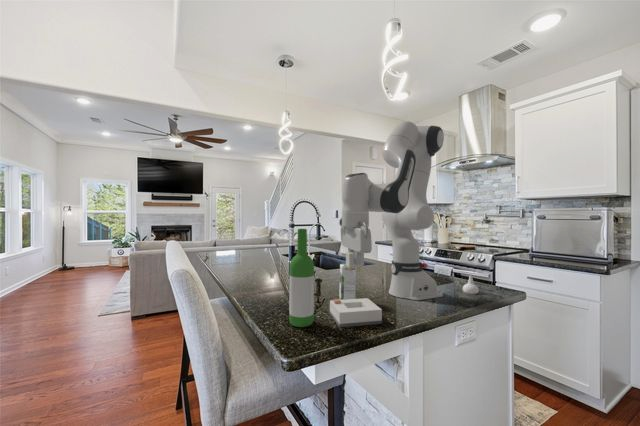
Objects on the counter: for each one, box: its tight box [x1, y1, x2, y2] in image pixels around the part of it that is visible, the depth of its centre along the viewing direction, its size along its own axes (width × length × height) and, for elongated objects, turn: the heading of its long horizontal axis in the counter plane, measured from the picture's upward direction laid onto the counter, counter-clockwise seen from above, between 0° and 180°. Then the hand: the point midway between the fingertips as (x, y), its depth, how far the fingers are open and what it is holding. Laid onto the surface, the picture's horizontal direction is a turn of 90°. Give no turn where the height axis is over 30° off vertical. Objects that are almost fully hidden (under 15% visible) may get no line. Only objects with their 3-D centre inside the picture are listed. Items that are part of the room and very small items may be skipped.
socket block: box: [329, 297, 383, 328], centre depth 95 cm, size 14×12×5 cm
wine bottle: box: [288, 228, 315, 328], centre depth 90 cm, size 8×8×30 cm
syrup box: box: [338, 263, 357, 300], centre depth 112 cm, size 6×6×14 cm
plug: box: [345, 251, 365, 272], centre depth 94 cm, size 5×4×6 cm
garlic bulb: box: [462, 274, 480, 295], centre depth 126 cm, size 6×6×8 cm
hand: (354, 263), depth 95 cm, fingers closed on plug, 4 cm apart
